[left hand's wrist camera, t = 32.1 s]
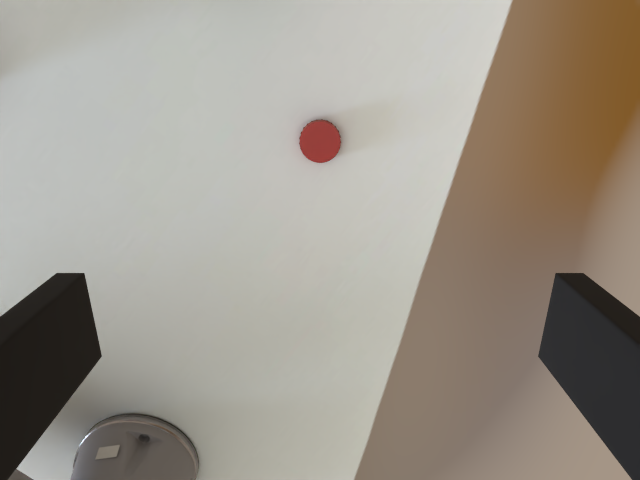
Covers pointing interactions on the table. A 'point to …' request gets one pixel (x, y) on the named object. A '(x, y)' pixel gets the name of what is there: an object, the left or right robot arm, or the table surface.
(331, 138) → the cap
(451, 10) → the table surface
